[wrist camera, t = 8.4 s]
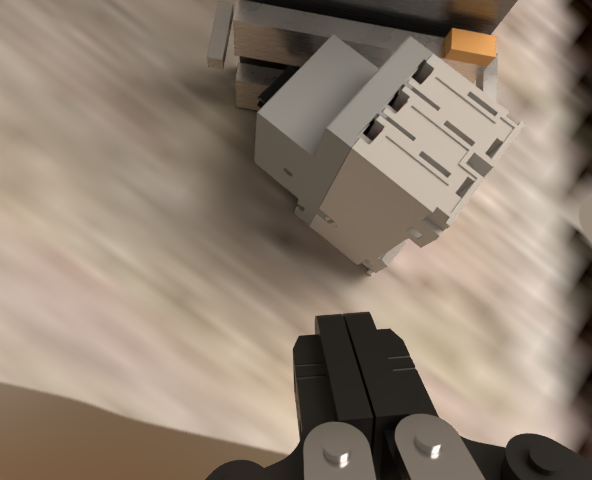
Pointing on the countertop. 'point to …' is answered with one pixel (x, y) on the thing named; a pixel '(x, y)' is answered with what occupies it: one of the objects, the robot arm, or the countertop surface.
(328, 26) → the rail
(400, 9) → the din rail panel
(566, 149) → the countertop surface
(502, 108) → the circuit breaker
